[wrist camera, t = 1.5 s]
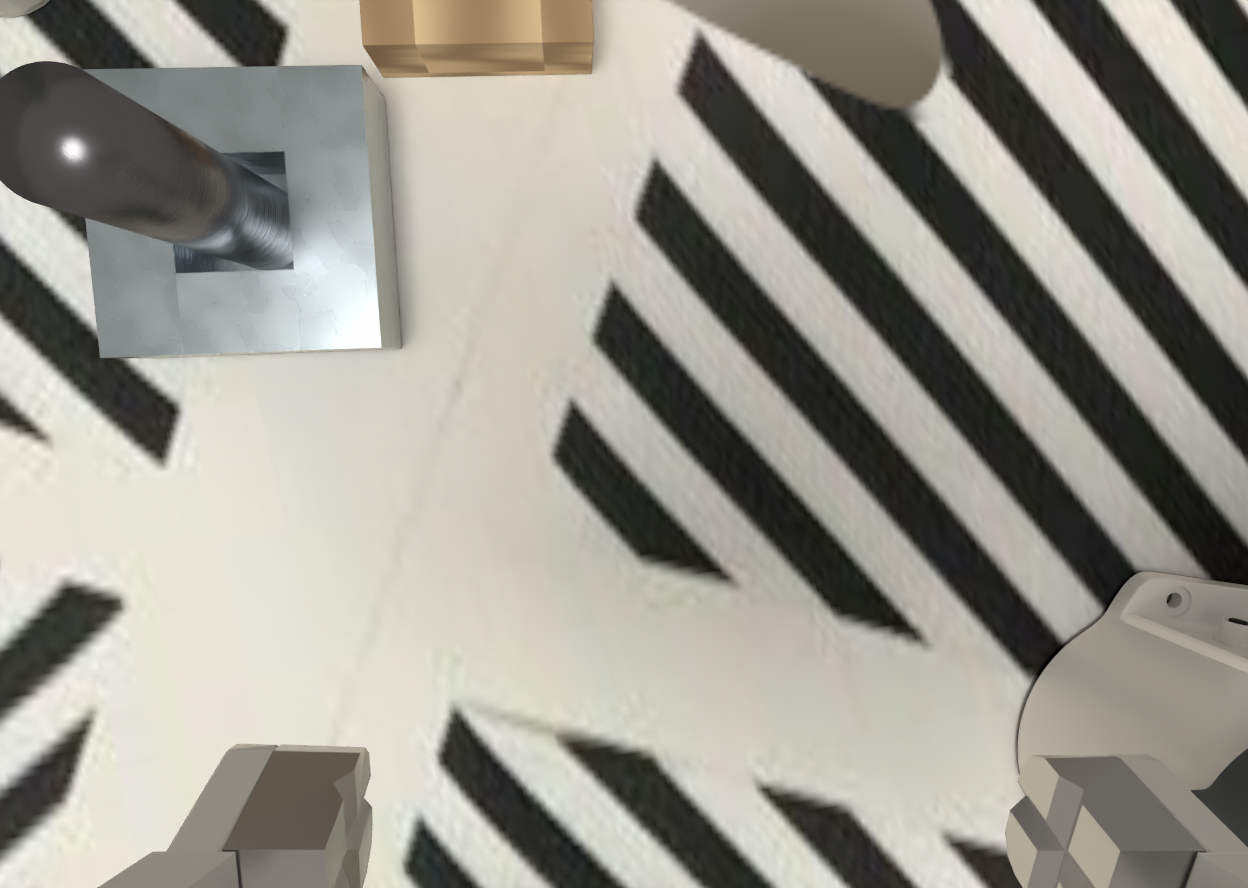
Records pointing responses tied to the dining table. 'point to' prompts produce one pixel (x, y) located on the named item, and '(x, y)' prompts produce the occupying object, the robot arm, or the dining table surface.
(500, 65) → the wooden square frame
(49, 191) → the brushed steel cylinder
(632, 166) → the dining table surface
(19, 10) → the spray can
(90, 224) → the socket
